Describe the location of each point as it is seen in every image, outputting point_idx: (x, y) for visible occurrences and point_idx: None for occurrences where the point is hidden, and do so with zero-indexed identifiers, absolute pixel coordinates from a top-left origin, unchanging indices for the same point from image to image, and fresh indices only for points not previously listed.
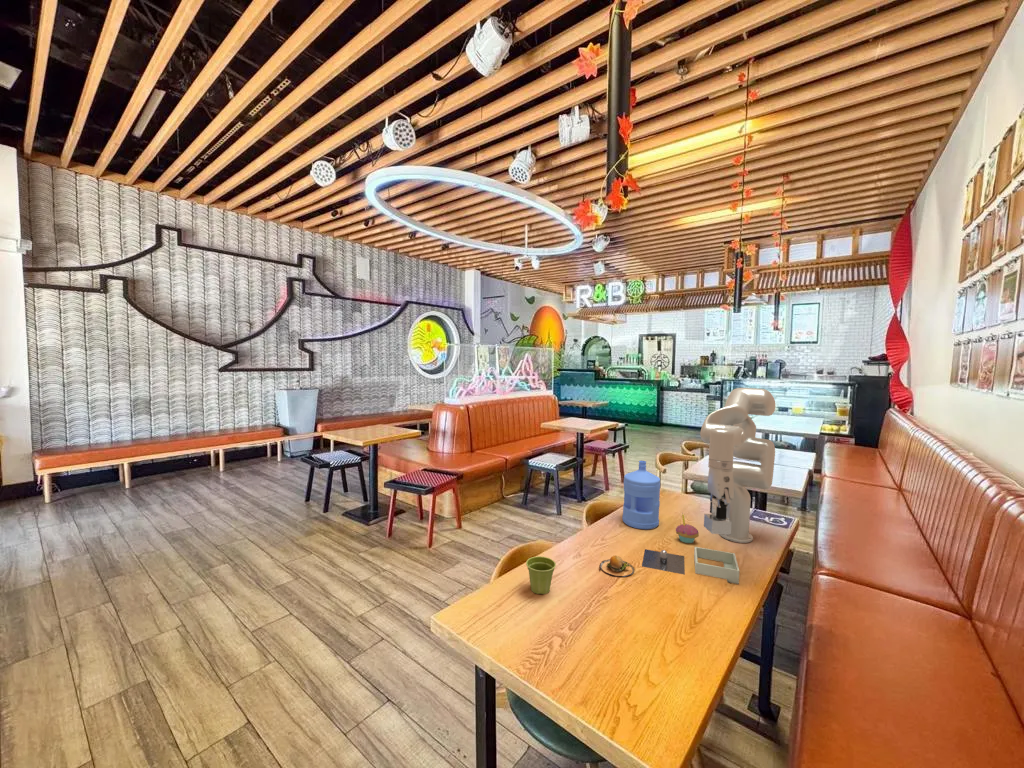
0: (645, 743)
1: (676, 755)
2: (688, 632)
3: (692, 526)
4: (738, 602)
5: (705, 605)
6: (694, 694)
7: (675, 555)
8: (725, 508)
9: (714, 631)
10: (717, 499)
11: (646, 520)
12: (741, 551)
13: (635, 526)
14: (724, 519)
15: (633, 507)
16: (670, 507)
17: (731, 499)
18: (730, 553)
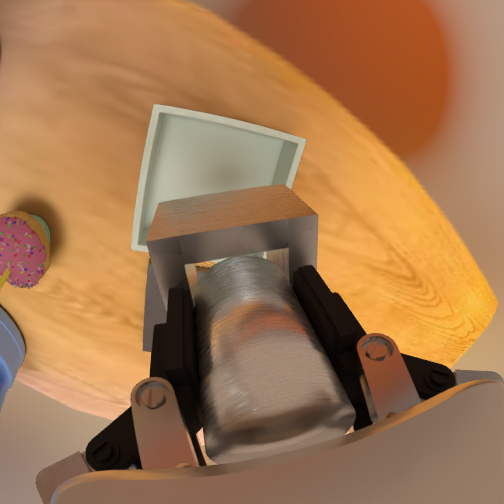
0: (485, 323)
1: (496, 306)
2: (426, 290)
3: (1, 243)
4: (372, 175)
5: (378, 252)
6: (479, 292)
7: (152, 287)
8: (350, 333)
9: (433, 254)
10: (294, 446)
11: (7, 342)
12: (50, 59)
13: (24, 349)
14: (254, 248)
15: (6, 389)
16: None
17: (481, 385)
18: (157, 121)
